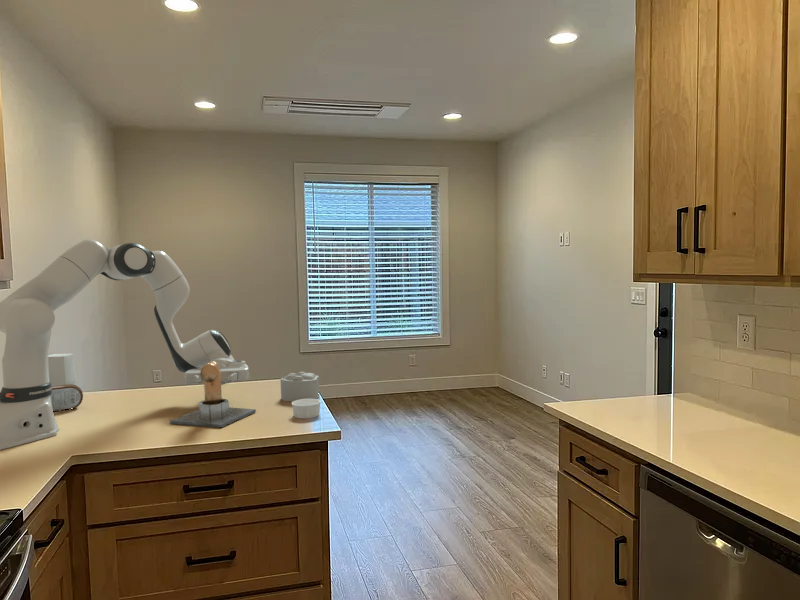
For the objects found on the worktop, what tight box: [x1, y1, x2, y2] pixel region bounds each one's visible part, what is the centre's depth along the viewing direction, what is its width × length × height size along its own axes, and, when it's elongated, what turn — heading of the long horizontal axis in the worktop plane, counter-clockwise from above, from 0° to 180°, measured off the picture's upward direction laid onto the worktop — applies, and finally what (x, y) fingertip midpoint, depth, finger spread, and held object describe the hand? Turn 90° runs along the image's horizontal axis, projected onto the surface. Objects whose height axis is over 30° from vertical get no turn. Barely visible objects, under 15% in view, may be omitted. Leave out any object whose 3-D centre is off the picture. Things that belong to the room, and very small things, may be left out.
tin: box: [51, 384, 84, 412], centre depth 194 cm, size 15×3×8 cm, turn 123°
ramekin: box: [291, 398, 321, 420], centre depth 181 cm, size 9×9×4 cm
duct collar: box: [169, 398, 257, 428], centre depth 181 cm, size 18×18×5 cm
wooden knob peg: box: [200, 361, 223, 405], centre depth 178 cm, size 10×5×16 cm, turn 11°
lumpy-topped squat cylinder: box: [280, 371, 320, 403], centre depth 204 cm, size 10×13×9 cm
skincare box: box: [48, 353, 78, 386], centre depth 214 cm, size 8×7×16 cm
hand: (214, 379), depth 184 cm, fingers open, 8 cm apart
